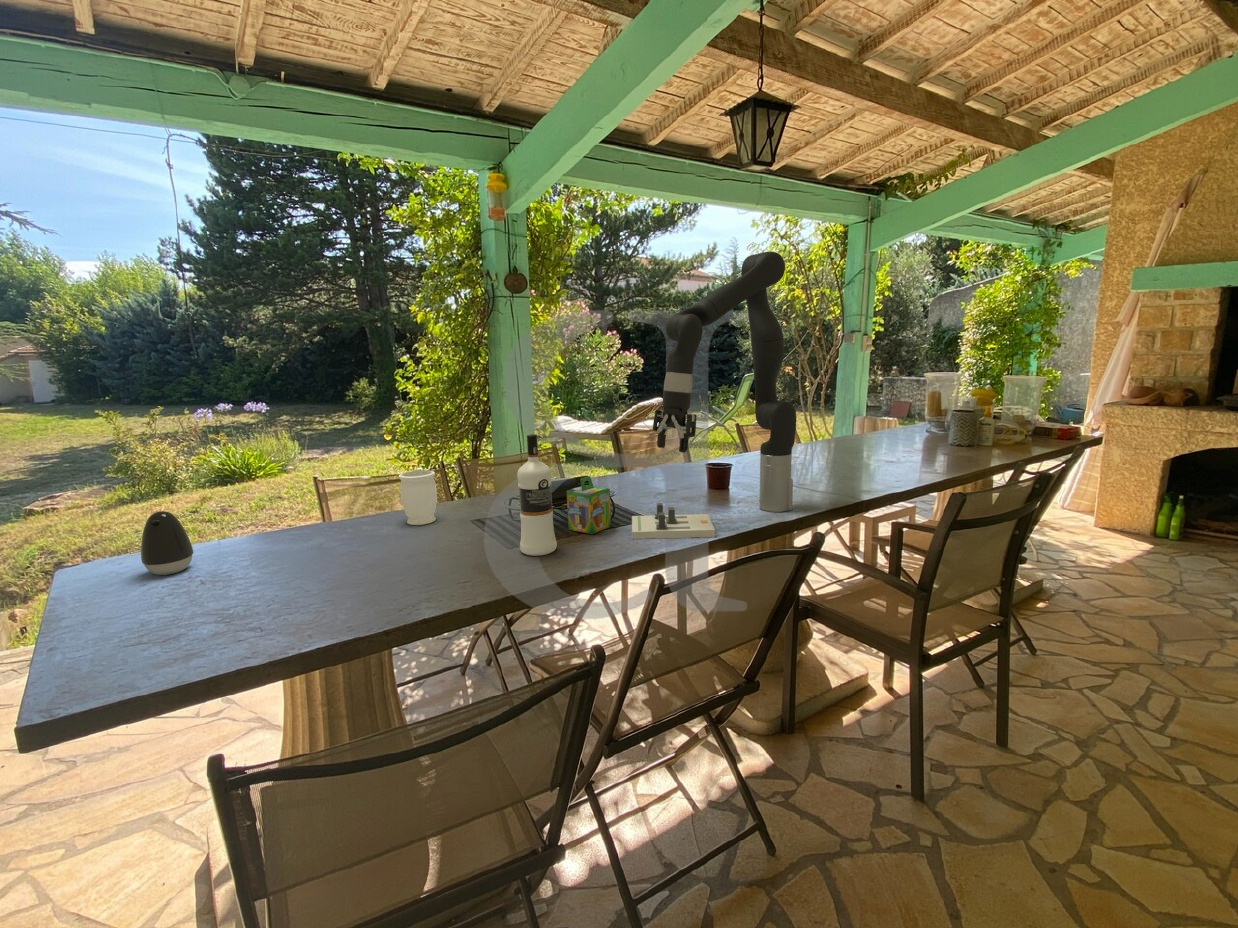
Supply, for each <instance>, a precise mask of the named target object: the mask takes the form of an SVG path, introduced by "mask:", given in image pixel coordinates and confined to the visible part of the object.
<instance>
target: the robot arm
mask: <svg viewBox="0 0 1238 928" xmlns="http://www.w3.org/2000/svg"><path fill="white" fill-rule="evenodd" d="M785 271H786V263H785V259H784V257H783V256H782V255H781V254H780V253H778V252H777V251H776V252H775V251H764V252H759V253H755V254H751V255H748V256H747V257H746V258H745V259H744V260H743V262H742V264H741V271H740V272H741V273H740V274H741V276H739V277H737V278H735V279H734V280H732V281H730V282H728V283H726V284H724V285H721V286H720V287H718V288H715V289H714V290H712V291H711V292H709V293H708V294H707V295H705V296H704V297H702V298H701V299H699V301H697V302H696V303H695V304H692V305H689V306H688V307H686V308H684V309H682V310H681V311H679V312H676V313H675V314H674V315H672V316H671V317H670V318H669V320H668V321H667V323H666V325H665V333H666V336H667V337H668V339H670V340H671V341H672V342H677V343H676V347H675V349H674V350H672V351H670V352H669V353H668V355H667V363H666V373H665V378H664V381H663V384H664V385H663V393H662V395H663V396H662V403H661V405H662V407H663V409H658V408H657V409H655V410H654V416H653V424H652V431H654V432H656V434H657V439H656V445H657V448H660V449H665V447H666V438H667V432H668V431H669V429H671V428H672V429H676V431H677V432H678V433H679V436H680V439H679V444H678V445H679V447H678V451H679V452H678V453H686V452H687V451H688V447H689V439H690V438H695V436H696V430H697V417H698V416H697V414H695V413H694V414H692V413H689V412H688V410H689V409H691V402H692V401H691V399H692V391H693V372H694V364H695V363H694V362H695V357H696V355H697V354H698V353H697V352H698V349H699V347H700V342H702V341H701V340H702V337H703V327H706V326H709V325H713V324H714V323H715V322H716V321H718V320H719V319H721V318H722V317H723V316H725V315H726V314H727V313H728V312H730V311H731V310H733V309H734V308H735V307H737V306H738V305H740V304H741V303H742V302H744V301H745V302H746V306H747V314H748V324H749V329H750V330H749V331H750V344H751V354H752V361H753V362H752V363H753V372H754V373H753V374H754V375H753V376H754V389H755V390H754V394H755V395H754V396H755V397H754V402H755V403H754V404H755V405H754V412H755V413H754V414H755V420H756V422H757V423H756V424H757V425H758V426H759V427H760V428H762V429H764V430H767V431H770V434H769V439H768V440H767V441H765V442H762V443H761V444H760V451H759V453H760V454H759V455H760V456H759V457H760V458H759V464H760V465H759V500H758V502H759V503H758V504H759V505H758V506H759V509H760V510H763V511H765V512H772V513H781V512H787V511H788V512H789V511H792V510H793V495H794V494H793V493H794V492H793V491H794V489H793V488H794V479H793V478H792V459H793V458H792V455H793V447H794V446H795V445H794V444H795V441H796V431H797V430H796V429H797V411H796V407H795V406H794V404H793V403H792V402H790V401H786V400H780V399H778V397H777V396H778V395H777V379H778V376H779V372H780V370H781V368H782V365H783V362H784V359H785V358H784V357H785V341H784V340H785V339H784V333H783V329H782V325H781V324H780V322H779V320H778V319H777V316H775V314H774V311H773V310H772V308H771V306H770V303H769V300H768V292H767V288H769V287H771V286H773V285H775V284H777V283H779V282H780V281H781V280H782V278H783V277H784V276H785V275H784V274H785Z"/></svg>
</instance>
